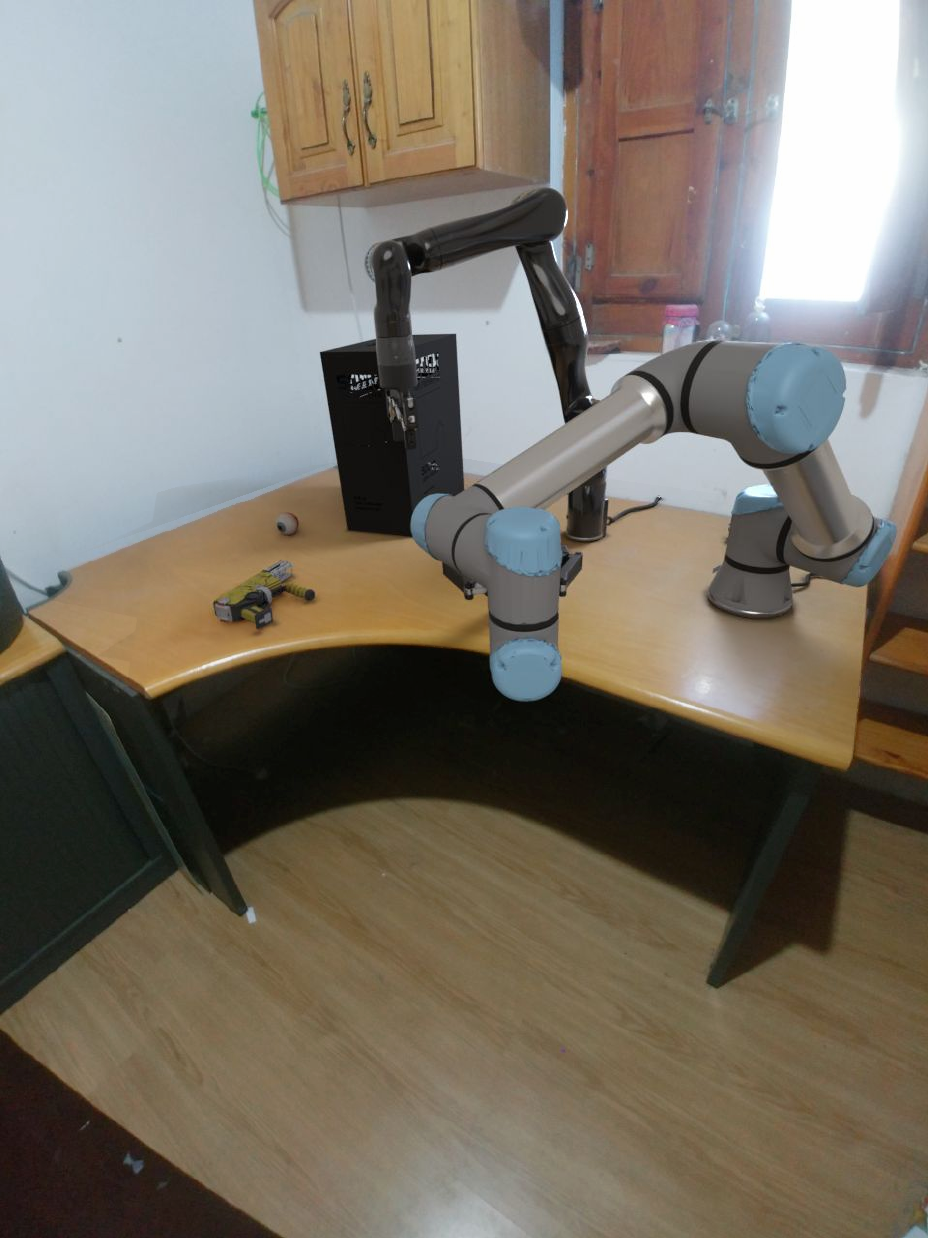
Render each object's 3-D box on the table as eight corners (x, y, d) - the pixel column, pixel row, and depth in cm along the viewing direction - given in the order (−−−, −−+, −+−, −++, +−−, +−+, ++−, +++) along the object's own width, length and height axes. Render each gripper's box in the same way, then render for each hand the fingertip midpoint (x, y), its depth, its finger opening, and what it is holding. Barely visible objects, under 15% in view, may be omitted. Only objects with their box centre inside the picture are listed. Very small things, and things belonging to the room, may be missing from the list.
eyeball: (273, 537, 164) (268, 516, 161) (287, 528, 169) (282, 508, 166) (291, 539, 161) (286, 518, 158) (305, 530, 166) (301, 510, 163)
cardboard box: (406, 487, 196) (390, 335, 173) (464, 491, 189) (456, 333, 167) (347, 529, 166) (319, 351, 143) (414, 536, 159) (396, 350, 136)
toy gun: (335, 569, 136) (278, 557, 140) (271, 616, 116) (207, 600, 120) (336, 587, 139) (280, 575, 142) (274, 637, 118) (211, 621, 122)
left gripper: (426, 362, 113) (433, 449, 121) (404, 355, 125) (411, 435, 133) (387, 367, 111) (397, 455, 119) (369, 359, 123) (378, 440, 131)
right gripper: (421, 636, 78) (431, 567, 96) (615, 630, 77) (588, 561, 95) (416, 584, 74) (427, 522, 93) (620, 577, 73) (591, 516, 92)
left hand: (404, 444), depth 126 cm, fingers open, 8 cm apart
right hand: (509, 542), depth 94 cm, fingers open, 13 cm apart
